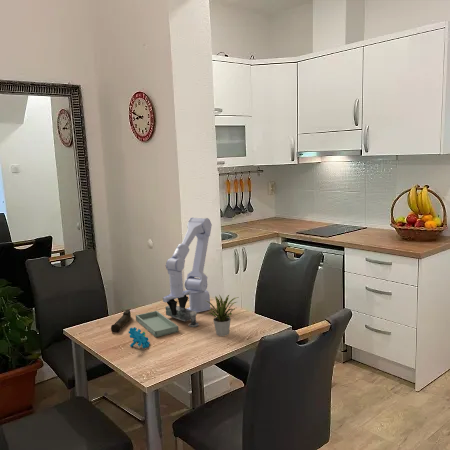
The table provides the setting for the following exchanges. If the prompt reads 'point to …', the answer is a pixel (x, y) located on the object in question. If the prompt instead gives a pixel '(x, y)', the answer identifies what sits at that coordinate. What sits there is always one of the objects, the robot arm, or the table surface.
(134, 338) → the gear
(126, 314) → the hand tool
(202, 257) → the robot arm
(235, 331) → the table surface
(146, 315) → the bin tray
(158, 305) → the table surface
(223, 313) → the house plant
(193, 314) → the stud post
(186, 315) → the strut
